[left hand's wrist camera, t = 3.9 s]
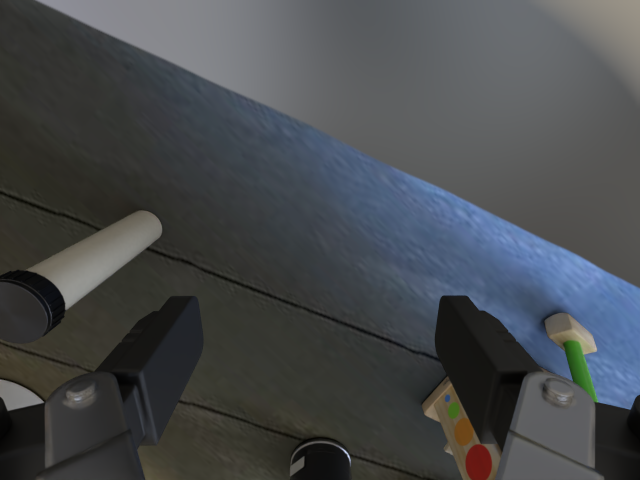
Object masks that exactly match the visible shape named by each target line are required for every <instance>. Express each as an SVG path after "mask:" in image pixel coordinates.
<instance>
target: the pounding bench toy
mask: <svg viewBox="0 0 640 480" xmlns="http://www.w3.org/2000/svg"><path fill="white" fill-rule="evenodd" d="M544 322H545V327H546V332H547V336H548V337H549V338H550V339H551V340H552V341H553V342H554V343H556V344H557V345H558V346H559V347H560V348H562V349H563V350H564V351H565V353H566V357H567V360H568V364H569V368H570V372H571V375H572V379H573V382H574V383H576V384H578V385H579V386H580V387H582V388H583V389H584V390H585V391H586V392H587V393H588V394H589V395H590V396H591V398H592V399H593V401H594V402H598V400H597V396H596V393H595V390H594V386H593V383H592V380H591V377H590V373H589V370H588V367H587V364H586V360H585V357H584V354H588V353H592V352H596V351H597V348H596V345H595V342H594V339H593V336H592V334H591V333H589V332H588V331H587V330H586V329H585V328H584V327H583V326H582V325H580V324H579V323H578V322H577V321H576V320H575V319H574V318H573V317H571V316H570V315H569V314H568V313H558V314H555V315H552V316H550V317H549V318H547V319H546V320H545V321H544ZM540 368H541V367H540ZM541 369H542V370H543V371H544V372H549V371H547V370H545V369H543V368H541ZM549 373H550V372H549ZM422 408H423V411H424V414H425V415H426V416H428V417H430V418H432V419H434V420H436V421H438V422H440V423H441V425H442V427H443V430H444V433H445V435H446V438H447V440H448V443H447V444H446V445H445V447H444V450H445V451H446V452H448V453H450V454H452V455H454V458H455V460H456V463H457V466H458V468H459V471H460V473H461V476H462V478H463V480H495V477H496V474H497V470H498V466H499V463H500V459H501V456H502V451H501V449H500V447H499V445H498V444H481V443H480V441H479V439H478V437H477V435H476V433H475V431H474V429H473V427H472V425H471V423H470V421H469V419H468V417H467V414H466V412H465V410H464V408H463V406H462V404H461V402H460V400H459V398H458V396H457V394H456V392H455V390H454V388H453V386H452V384H451V382H450V380H449V378H448V376H447V377H446V378H445V379H444V380H443V382H442V383H441V384H440V385H439V386H438V387H437V388H436V389H435V390H434V391H433V393H432V394H431V395H430V396H429V397H428V398H427V399H426V400H425V401H424V403H423V404H422Z"/></svg>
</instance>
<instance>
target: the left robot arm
mask: <svg viewBox="0 0 640 480" xmlns="http://www.w3.org/2000/svg"><path fill="white" fill-rule="evenodd" d="M435 347H436V352H437V355H438V357H439V359H440V361H441V363H442V365H443V367H444V369H445V371H446V373H447V376H448V378H449V380H450V382H451V384H452V386H453V388H454V390H455V392H456V394H457V396H458V398H459V400H460V402H461V404H462V406H463V408H464V410H465V412H466V414H467V417H468V419H469V421H470V423H471V425H472V427H473V429H474V431H475V433H476V435H477V437H478V439H479V441H480V443H481V444H498V445H499V447H500V449H501V451H502V456H501V459H500V463H499V466H498V470H497V474H496V477H495V480H640V395H639V396H637V397H636V398H635V401H634V403H633V406H632V408H631V410H629V409H625V408H620V407H616V406H611V405H607V404H602V403H598V402H594V401H593V399H592V398H591V396H590V395H589V394H588V393H587V392H586V391H585V390H584V389H583V388H582V387H580V386H579V385H578V384H576V383H574V382H573V381H571V380H569V379H567V378H565V377H562V376H560V375H557V374H553V373H549V372H544V371H543V370H542V369H541V368H540V367H539V366H538V365H537V363H536V362H535V361H534V360H533V359H532V358H531V356H530V355H529V354H528V353H527V352H526V351H525V350H524V348H523V347H522V346H521V345H520V344H519V343H518V342H516V339H515V338H514V337H513V336H512V335H511V333H508V330H507V329H506V328H505V327H504V325H503V324H502V323H501V322H500V321H499V320H498V319H497V318H495V317H493V316H492V315H490V314H489V313H487V312H486V311H479V310H478V308H477V307H476V306H475V305H474V304H473V302H472V301H471V300H470V299H469V297H468V296H442V297H441V299H440V303H439V310H438V317H437V325H436V332H435ZM202 349H203V331H202V324H201V317H200V309H199V303H198V299H197V297H196V296H171V297H170V298H169V299H168V300H167V302H166V303H165V304H164V305H163V306H162V308H161V309H160V310H159V311H153V312H152V313H150V314H149V315H147V316H145V317H144V318H142V319H141V320H139V321H138V322H137V323H136V325H135V326H134V327H133V328H132V329H131V330H130V333H128V334H127V335H126V336H125V337H124V338H123V339H122V342H121V343H119V344H118V345H117V346H116V347H115V349H114V350H113V351H112V352H111V353H110V354H109V355H108V357H107V358H106V359H105V360H104V361H103V362H102V363H101V365H100V366H99V367H98V368H97V369H96V370H95V371H94V372H91V373H87V374H83V375H80V376H78V377H75V378H73V379H71V380H69V381H67V382H66V383H64V384H62V385H61V386H60V387H58V388H57V389H56V390H55V391H54V392H53V393H52V394H51V395H50V396H49V398H48V399H47V401H46V402H44V403H40V404H36V405H31V406H27V407H22V408H18V409H14V410H9V411H8V410H7V408H6V405H5V403H4V400H3V399H2V398H1V397H0V480H145V477H144V474H143V470H142V466H141V463H140V459H139V456H138V452H137V449H138V447H139V445H157V443H158V441H159V439H160V437H161V435H162V433H163V431H164V429H165V427H166V425H167V423H168V421H169V419H170V417H171V415H172V413H173V411H174V409H175V407H176V405H177V403H178V401H179V399H180V397H181V395H182V393H183V391H184V389H185V387H186V384H187V382H188V380H189V378H190V376H191V374H192V372H193V370H194V368H195V366H196V364H197V362H198V360H199V358H200V356H201V353H202ZM290 480H352V477H351V458H350V454H349V452H348V450H347V449H346V448H345V447H344V446H343V445H342V444H340V443H339V442H336V441H334V440H331V439H325V438H317V439H311V440H308V441H305V442H303V443H301V444H300V445H299V446H297V447H296V449H295V450H294V451H293V453H292V456H291V467H290Z"/></svg>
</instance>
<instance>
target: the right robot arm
mask: <svg viewBox="0 0 640 480" xmlns="http://www.w3.org/2000/svg"><path fill="white" fill-rule="evenodd" d="M0 397H1V398H2V399H3V400H4V403H5V405H6V408H7V410H8V411H9V410H14V409H18V408H22V407H27V406H31V405H36V404H40V403H44V402H43V401H42V400H41V399H40V398H39V397H38V396H37V395H35V394H34V393H33V392H31V391H30V390H28V389H26V388H24V387H22V386H20V385H18V384H15V383H13V382H9V381H6V380H1V379H0Z"/></svg>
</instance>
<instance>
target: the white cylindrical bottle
mask: <svg viewBox="0 0 640 480" xmlns="http://www.w3.org/2000/svg"><path fill="white" fill-rule="evenodd" d="M161 234H162V225H161V223H160V221H159V219H158V218H157V217H156V216H155V215H154V214H152V213H150V212H148V211H142V210H141V211H136V212H134V213H132V214H130V215H128V216H126V217H124V218H122V219H120V220H119V221H117V222H115V223H113V224H111V225H109V226H107V227H105V228H103V229H102V230H100V231H98V232H96V233H94V234H92V235H90V236H88V237H86V238H85V239H83V240H81V241H79V242H77V243H75V244H73V245H71V246H69V247H68V248H66V249H64V250H62V251H60V252H58V253H56V254H54V255H52V256H51V257H49V258H47V259H45V260H43V261H41V262H39V263H37V264H35V265H34V266H32V267H30V268H28V269H26V270H28V271H30V272H34V273H37V274H40V275H42V276H44V277H45V278H47V279H48V280H50V281H51V282H52V283H53V284H54V285H55V286H56V287H57V288H58V289H59V291H60V292H61V294H62V295H63V298H64V301H65V310H68V309H69V308H70V307H72V306H73V305H74V304H75V303H77V302H78V301H79V300H81V299H82V298H83V297H84V296H86V295H87V294H88V293H90V292H91V291H92V290H94V289H95V288H96V287H97V286H99V285H100V284H101V283H103V282H104V281H105V280H106V279H108V278H109V277H110V276H112V275H113V274H114V273H115V272H117V271H118V270H119V269H121V268H122V267H123V266H124V265H126V264H127V263H128V262H130V261H131V260H132V259H133V258H135V257H136V256H137V255H139V254H140V253H141V252H142V251H144V250H145V249H146V248H148V247H149V246H150V245H152V244H153V243H154V242H155V241H157V240H158V239H159V238H160V236H161ZM26 270H24V271H26Z"/></svg>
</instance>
